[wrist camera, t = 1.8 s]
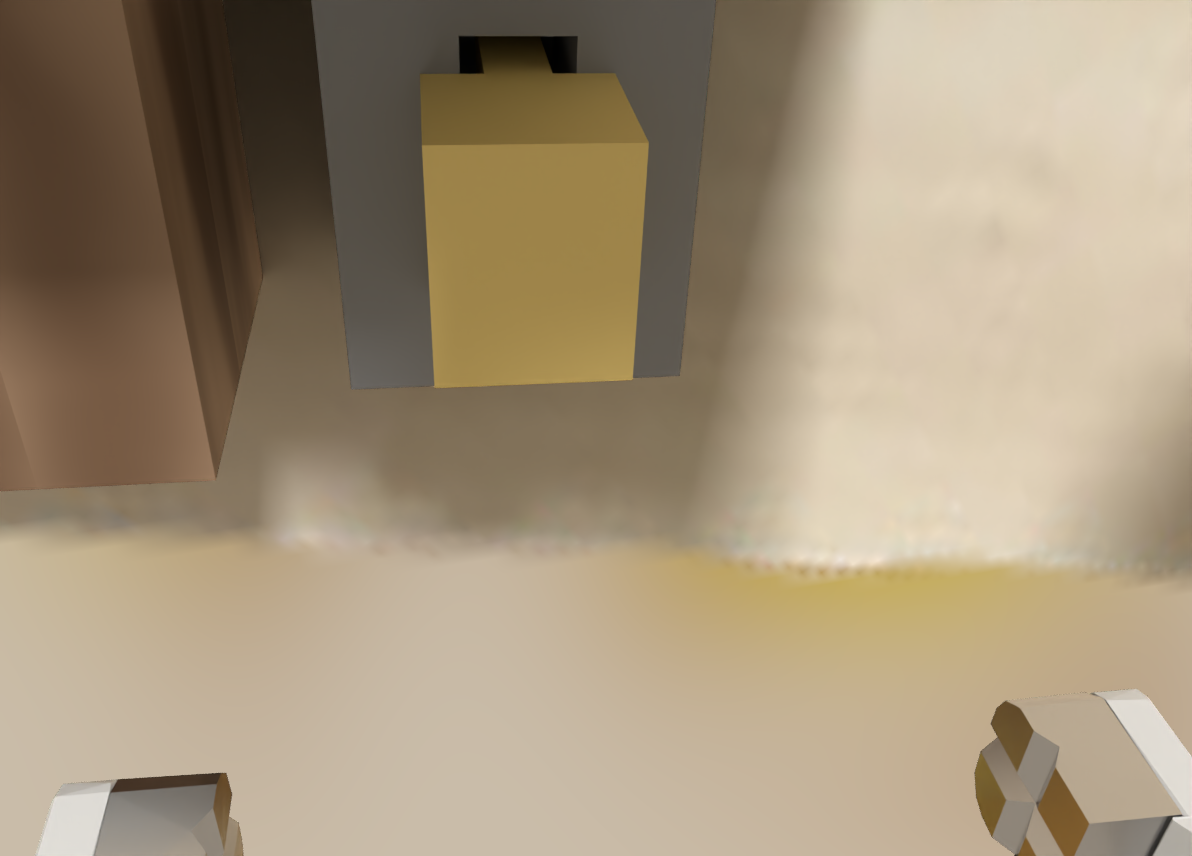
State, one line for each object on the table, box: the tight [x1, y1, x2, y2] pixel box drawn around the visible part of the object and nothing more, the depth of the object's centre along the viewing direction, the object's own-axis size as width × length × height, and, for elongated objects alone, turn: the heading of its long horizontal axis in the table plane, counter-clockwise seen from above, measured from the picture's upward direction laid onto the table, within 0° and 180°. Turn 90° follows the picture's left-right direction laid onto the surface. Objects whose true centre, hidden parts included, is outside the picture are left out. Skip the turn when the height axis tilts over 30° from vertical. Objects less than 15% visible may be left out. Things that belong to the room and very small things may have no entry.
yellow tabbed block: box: [420, 36, 649, 388], centre depth 24 cm, size 4×5×8 cm
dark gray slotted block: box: [311, 0, 716, 389], centre depth 27 cm, size 8×10×8 cm
